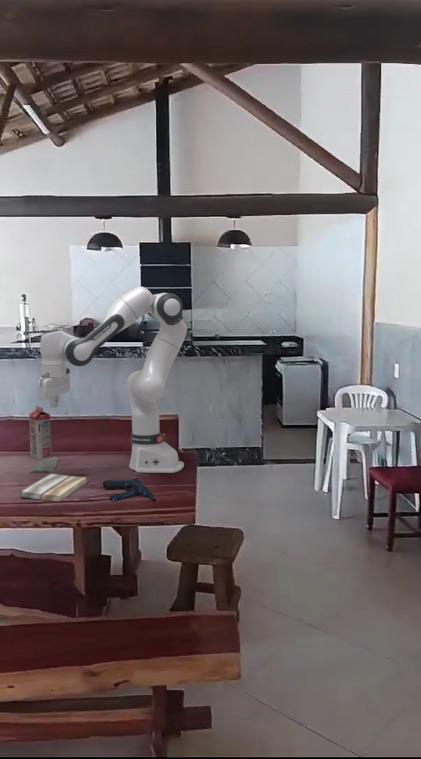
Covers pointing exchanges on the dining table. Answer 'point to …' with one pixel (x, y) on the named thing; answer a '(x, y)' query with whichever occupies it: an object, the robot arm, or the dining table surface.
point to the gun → (127, 489)
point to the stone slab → (45, 466)
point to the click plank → (42, 486)
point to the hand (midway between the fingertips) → (54, 407)
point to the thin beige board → (64, 488)
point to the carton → (40, 434)
